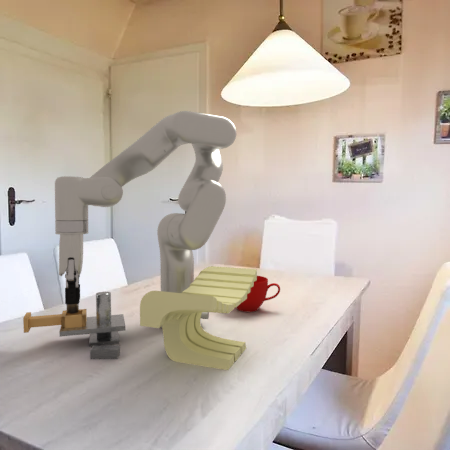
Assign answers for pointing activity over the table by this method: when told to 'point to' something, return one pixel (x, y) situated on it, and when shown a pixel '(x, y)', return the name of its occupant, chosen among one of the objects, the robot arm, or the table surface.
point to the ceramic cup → (257, 295)
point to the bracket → (56, 320)
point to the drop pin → (73, 307)
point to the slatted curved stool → (199, 316)
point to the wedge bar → (105, 352)
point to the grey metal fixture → (100, 323)
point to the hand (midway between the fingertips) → (72, 301)
